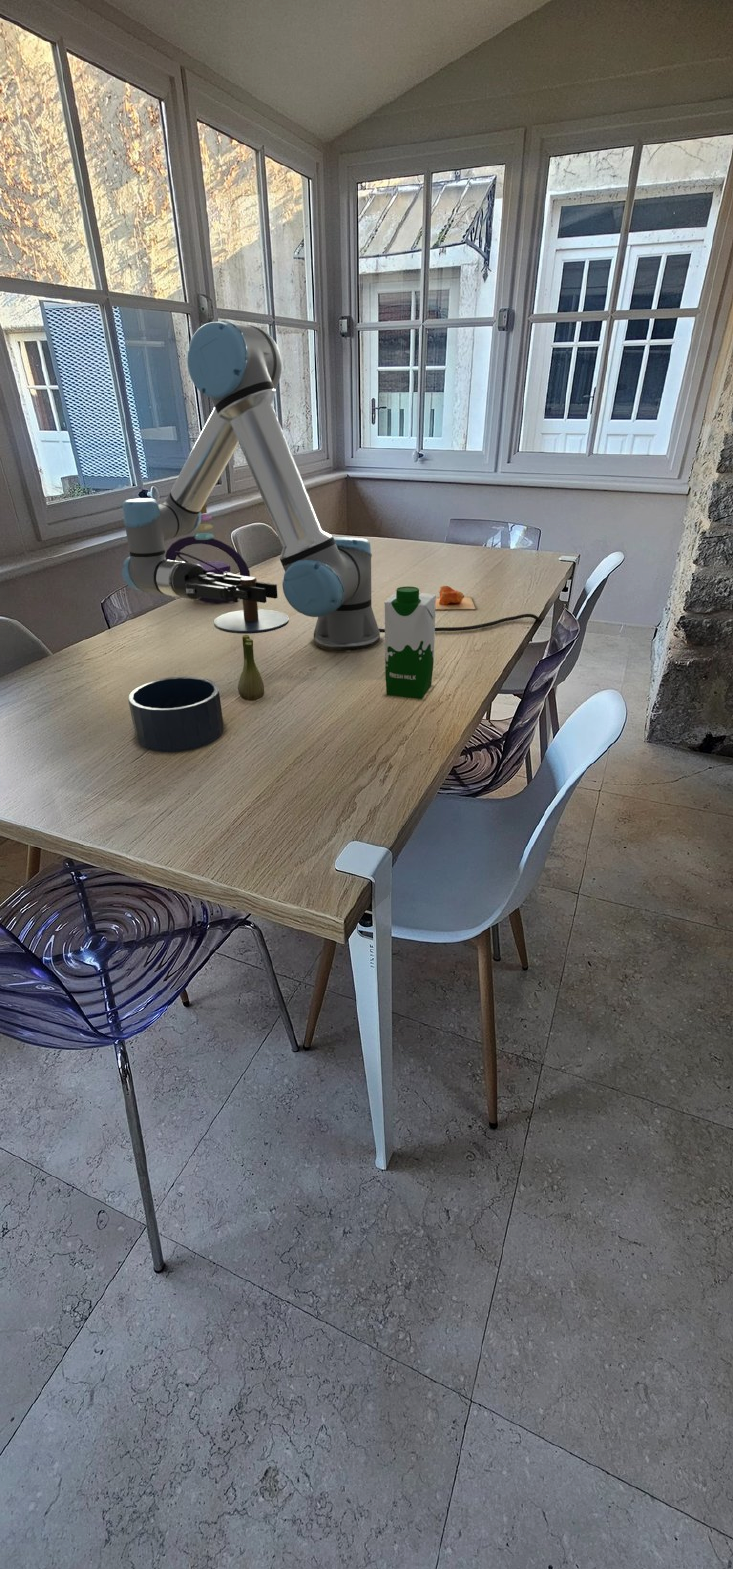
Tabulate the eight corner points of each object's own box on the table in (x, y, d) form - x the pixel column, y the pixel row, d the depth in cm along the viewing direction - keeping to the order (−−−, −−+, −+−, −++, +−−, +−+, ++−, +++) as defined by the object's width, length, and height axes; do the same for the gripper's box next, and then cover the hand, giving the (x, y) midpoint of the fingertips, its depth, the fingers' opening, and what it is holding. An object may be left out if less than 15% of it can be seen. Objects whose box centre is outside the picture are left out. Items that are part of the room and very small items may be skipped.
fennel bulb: (259, 705, 129) (253, 643, 124) (234, 703, 130) (227, 641, 124) (269, 693, 134) (263, 633, 128) (245, 692, 135) (238, 631, 129)
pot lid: (271, 610, 156) (268, 566, 151) (301, 629, 144) (298, 581, 139) (204, 621, 149) (198, 575, 144) (229, 641, 137) (224, 592, 133)
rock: (475, 609, 183) (476, 593, 181) (429, 610, 183) (429, 593, 181) (470, 597, 193) (471, 582, 191) (426, 598, 194) (426, 582, 192)
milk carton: (380, 696, 132) (379, 590, 122) (394, 680, 140) (395, 579, 130) (425, 702, 130) (428, 594, 120) (437, 685, 137) (441, 582, 127)
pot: (208, 709, 128) (202, 671, 124) (236, 739, 117) (231, 698, 113) (127, 727, 122) (119, 687, 118) (149, 760, 111) (140, 717, 107)
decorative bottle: (178, 610, 187) (163, 511, 174) (165, 592, 203) (150, 501, 191) (259, 600, 194) (250, 504, 182) (240, 584, 211) (231, 495, 199)
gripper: (210, 589, 159) (294, 602, 148) (159, 606, 147) (246, 622, 136) (206, 555, 155) (292, 566, 145) (153, 570, 143) (243, 583, 133)
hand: (270, 593), depth 141 cm, fingers closed on pot lid, 3 cm apart
